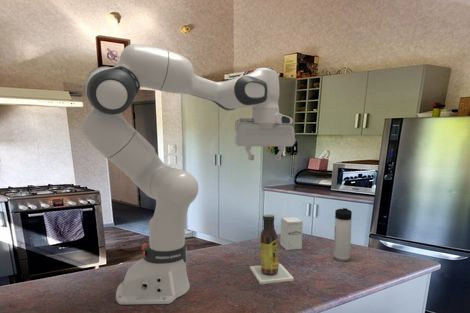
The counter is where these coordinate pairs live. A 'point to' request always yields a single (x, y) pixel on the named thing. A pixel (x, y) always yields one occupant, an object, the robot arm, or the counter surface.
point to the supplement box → (291, 233)
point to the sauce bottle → (269, 246)
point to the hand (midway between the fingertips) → (264, 160)
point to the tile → (271, 275)
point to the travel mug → (342, 234)
